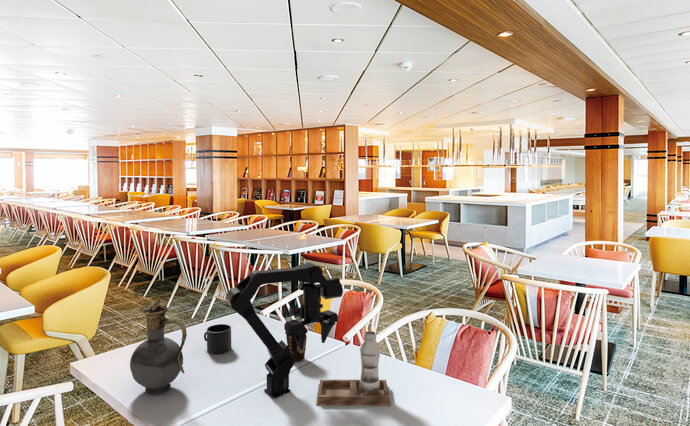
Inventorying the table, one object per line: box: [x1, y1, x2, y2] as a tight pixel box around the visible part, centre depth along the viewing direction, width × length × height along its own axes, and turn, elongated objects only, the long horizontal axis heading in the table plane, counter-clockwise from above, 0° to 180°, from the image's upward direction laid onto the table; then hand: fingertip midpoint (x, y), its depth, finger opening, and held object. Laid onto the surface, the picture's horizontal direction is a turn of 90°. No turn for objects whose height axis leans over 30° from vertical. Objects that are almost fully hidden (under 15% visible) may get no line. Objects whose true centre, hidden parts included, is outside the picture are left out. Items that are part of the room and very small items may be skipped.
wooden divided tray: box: [315, 379, 392, 407], centre depth 137 cm, size 23×12×2 cm, turn 90°
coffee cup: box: [284, 326, 309, 363], centre depth 163 cm, size 9×8×13 cm
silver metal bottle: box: [359, 330, 382, 395], centre depth 136 cm, size 6×7×20 cm
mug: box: [203, 323, 232, 355], centre depth 172 cm, size 9×12×9 cm
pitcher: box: [129, 299, 188, 395], centre depth 139 cm, size 11×19×30 cm, turn 75°
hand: (312, 346), depth 144 cm, fingers open, 9 cm apart
